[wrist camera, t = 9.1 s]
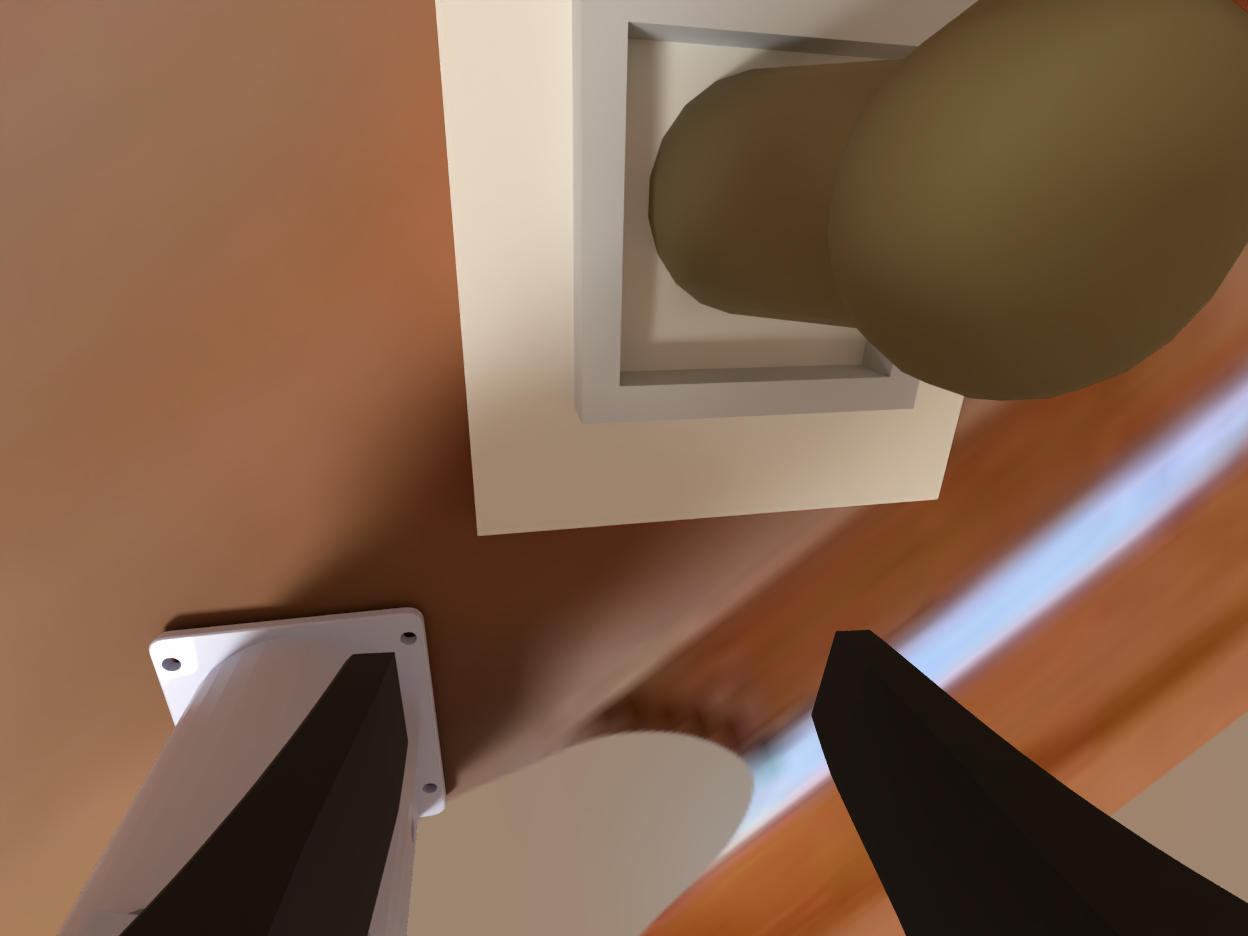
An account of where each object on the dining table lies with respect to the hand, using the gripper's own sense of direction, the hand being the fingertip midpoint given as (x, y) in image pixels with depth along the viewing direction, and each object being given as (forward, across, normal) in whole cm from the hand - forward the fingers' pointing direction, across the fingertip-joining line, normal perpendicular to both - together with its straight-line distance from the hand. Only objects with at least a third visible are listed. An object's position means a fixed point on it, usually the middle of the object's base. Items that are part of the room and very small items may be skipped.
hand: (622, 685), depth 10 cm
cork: (+10, -4, -7) cm, 13 cm away
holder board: (+11, -4, -6) cm, 14 cm away
